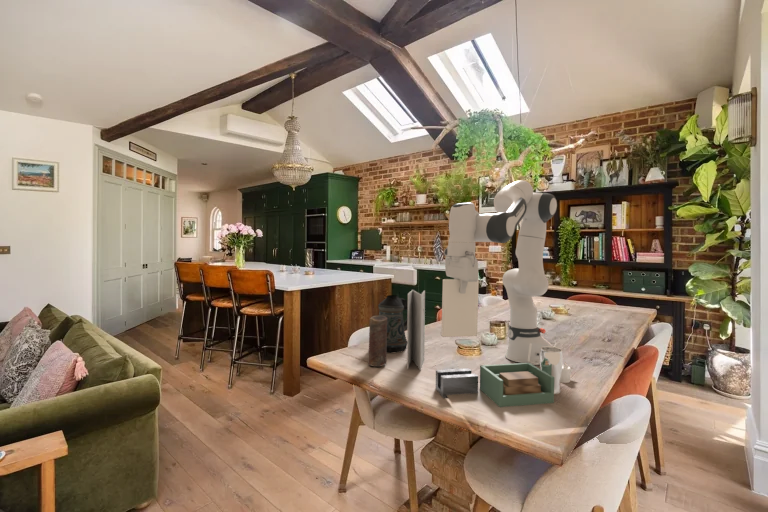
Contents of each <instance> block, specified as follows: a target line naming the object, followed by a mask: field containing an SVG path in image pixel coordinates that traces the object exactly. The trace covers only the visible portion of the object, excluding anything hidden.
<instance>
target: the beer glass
mask: <svg viewBox="0 0 768 512" xmlns="http://www.w3.org/2000/svg"><path fill="white" fill-rule="evenodd" d="M563 357H564V356H563V348H562V349H561V348H560V347H556V346H553V347H550V346H545V347H541V353H540V365H539V369H541V370H543V371H544V372H546V373H548V374H550V375H551V376H553V377H554V395H558V394H560V393H561V388H560V383H561V382H560V377H561V373H562V367H563V365H564V364H563V362H564V359H563Z"/></svg>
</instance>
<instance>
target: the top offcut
mask: <svg viewBox="0 0 768 512" xmlns="http://www.w3.org/2000/svg"><path fill="white" fill-rule="evenodd" d="M499 378H501V379H502V380H503V384H505V385H506V386H507V387H522V386H537V385H538V377H536V376H534V375H533V374H531V373H530V372H528V371H524V372H507V373H499Z"/></svg>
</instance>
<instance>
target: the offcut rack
mask: <svg viewBox="0 0 768 512" xmlns="http://www.w3.org/2000/svg"><path fill="white" fill-rule="evenodd" d="M524 371H528V372H530V373H531V374H533V375H534V376H536V377H538V384H540V385H541V391H542V392H544V393H530V394H516V395H503V380H502V379H501V378H499V373H507V372H524ZM479 374H480V375H479V390H480V391H481V392H483V393H484V394H485V396H487V397H488V398H489V399H490V400H492V401H493V402H494V403H495V404H496V405H497V406H498V407H499V408H504V407H505V408H506V407H516V406H518V407H519V406H533V405H542V404H554V403H555V394H554V377H553V376H551V375H550V374H548V373H546V372H544V371H543V370H541V368H540V367H537V365H532V364H530V363H520V362H516V363H501V364H483V365H481V364H480V365H479Z"/></svg>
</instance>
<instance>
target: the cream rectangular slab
mask: <svg viewBox="0 0 768 512" xmlns="http://www.w3.org/2000/svg"><path fill="white" fill-rule="evenodd" d="M479 283H480V281H479V279H478V280H477V282H468V284H467V287H466V293H465V294H461V293H459V288H460V284H461V283H460V279H454V278H444V279H442V292H441V293H442V294H441V295H442V297H441V301H442V302H441V332H440V333H441V334H440V335H441V337H442V338H458V337H459V338H461V337H462V338H463V337H478V320H479V319H478V316H479Z"/></svg>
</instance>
